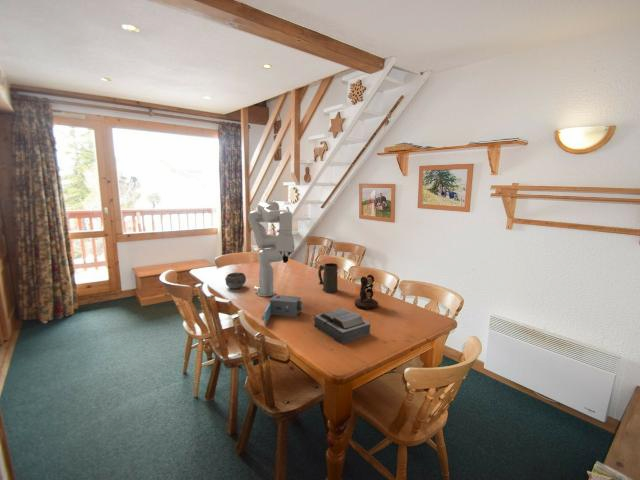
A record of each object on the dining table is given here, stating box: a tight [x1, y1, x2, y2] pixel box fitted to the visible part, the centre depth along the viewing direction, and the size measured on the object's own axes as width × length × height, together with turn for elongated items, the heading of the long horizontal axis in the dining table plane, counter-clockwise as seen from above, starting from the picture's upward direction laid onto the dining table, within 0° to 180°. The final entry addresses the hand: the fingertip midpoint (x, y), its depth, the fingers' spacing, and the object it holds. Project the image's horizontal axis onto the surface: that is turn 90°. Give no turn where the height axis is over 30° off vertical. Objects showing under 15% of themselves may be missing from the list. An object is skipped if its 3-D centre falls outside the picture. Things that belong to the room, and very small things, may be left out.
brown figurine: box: [354, 274, 379, 310], centre depth 200 cm, size 15×15×20 cm
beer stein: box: [317, 262, 339, 294], centre depth 228 cm, size 15×11×20 cm
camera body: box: [269, 294, 304, 318], centre depth 186 cm, size 18×9×10 cm, turn 80°
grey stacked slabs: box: [313, 307, 371, 345], centre depth 166 cm, size 23×27×10 cm
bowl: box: [224, 271, 247, 290], centre depth 230 cm, size 14×15×10 cm
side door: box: [261, 302, 272, 325], centre depth 176 cm, size 14×2×7 cm, turn 178°
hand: (285, 262), depth 189 cm, fingers closed
